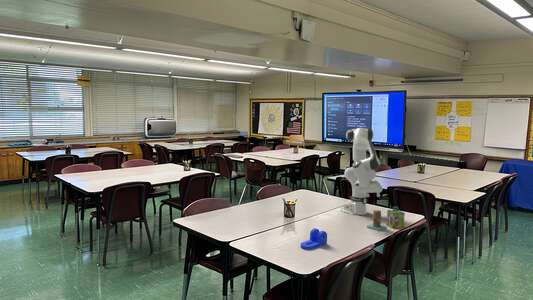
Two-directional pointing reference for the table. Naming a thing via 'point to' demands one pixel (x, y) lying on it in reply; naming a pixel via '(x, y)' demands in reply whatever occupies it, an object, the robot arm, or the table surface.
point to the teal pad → (376, 227)
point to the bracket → (315, 239)
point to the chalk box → (395, 218)
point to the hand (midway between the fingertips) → (373, 196)
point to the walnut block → (376, 218)
